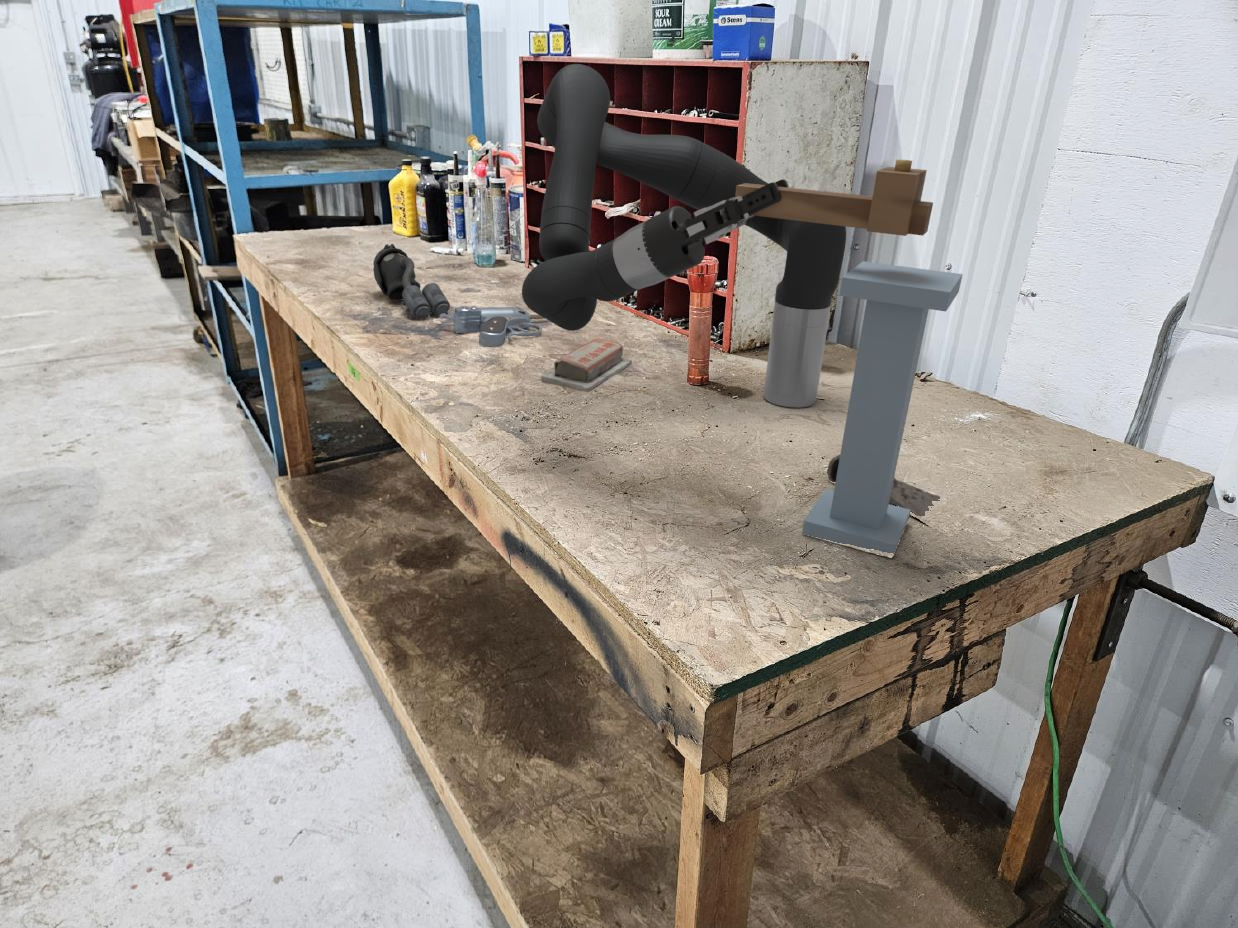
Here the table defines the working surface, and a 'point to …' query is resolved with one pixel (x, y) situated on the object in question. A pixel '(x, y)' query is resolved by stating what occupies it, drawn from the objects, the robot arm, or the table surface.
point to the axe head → (897, 492)
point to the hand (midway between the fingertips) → (782, 189)
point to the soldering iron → (493, 323)
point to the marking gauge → (859, 203)
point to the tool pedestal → (879, 402)
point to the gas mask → (407, 284)
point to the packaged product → (588, 365)
